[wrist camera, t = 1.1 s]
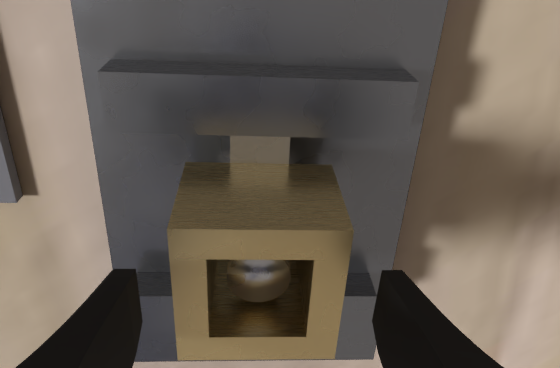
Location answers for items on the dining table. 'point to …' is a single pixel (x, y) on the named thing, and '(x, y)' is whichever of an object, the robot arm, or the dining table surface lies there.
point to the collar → (258, 246)
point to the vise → (255, 126)
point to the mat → (7, 169)
